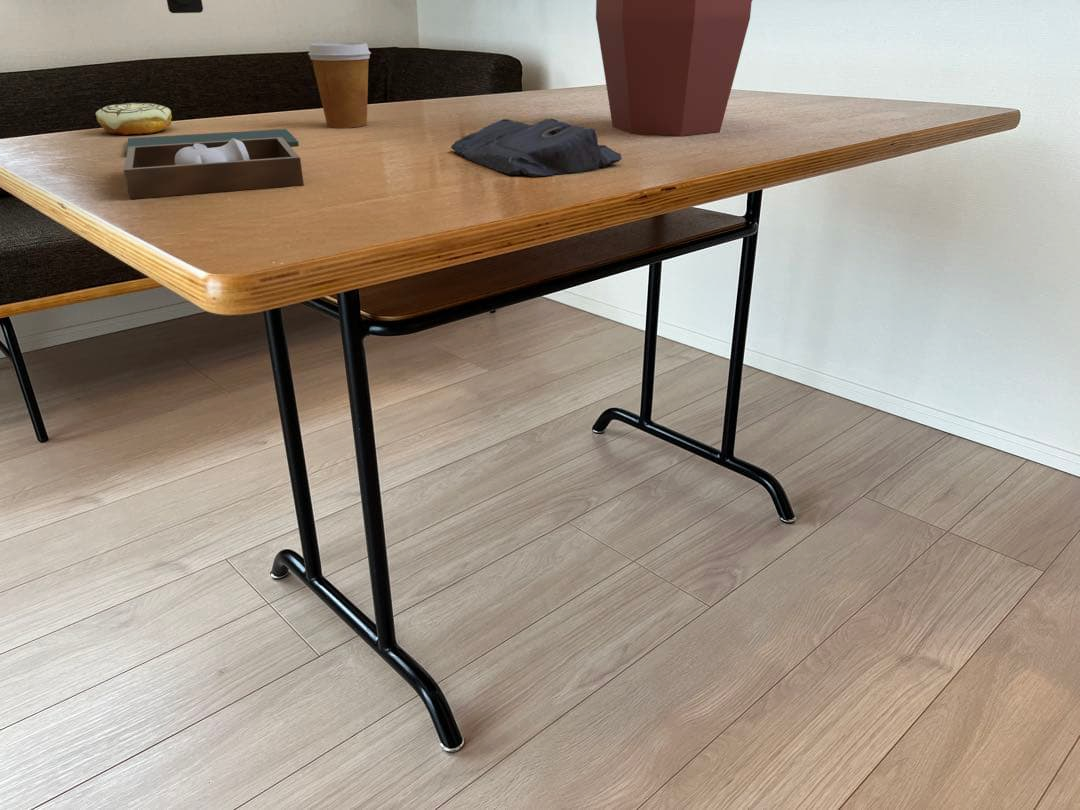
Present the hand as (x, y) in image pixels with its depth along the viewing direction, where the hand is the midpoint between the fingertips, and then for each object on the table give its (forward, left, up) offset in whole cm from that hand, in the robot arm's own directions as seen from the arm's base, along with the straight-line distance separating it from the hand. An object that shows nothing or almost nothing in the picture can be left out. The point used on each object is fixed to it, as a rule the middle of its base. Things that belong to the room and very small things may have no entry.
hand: (185, 12), depth 86 cm
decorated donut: (-9, +45, -18) cm, 50 cm away
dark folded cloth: (+38, -2, -18) cm, 42 cm away
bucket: (+67, +14, -18) cm, 71 cm away
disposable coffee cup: (+22, +38, -18) cm, 48 cm away
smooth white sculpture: (0, +1, -18) cm, 18 cm away
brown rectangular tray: (0, +1, -17) cm, 17 cm away
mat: (+1, +27, -17) cm, 32 cm away
